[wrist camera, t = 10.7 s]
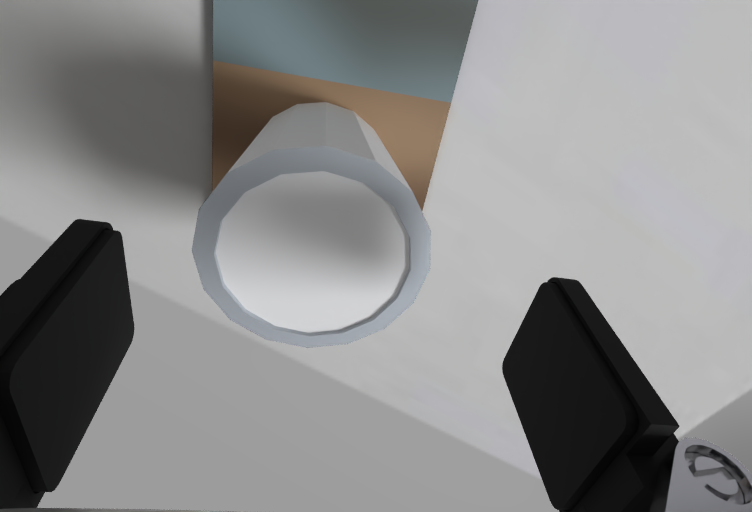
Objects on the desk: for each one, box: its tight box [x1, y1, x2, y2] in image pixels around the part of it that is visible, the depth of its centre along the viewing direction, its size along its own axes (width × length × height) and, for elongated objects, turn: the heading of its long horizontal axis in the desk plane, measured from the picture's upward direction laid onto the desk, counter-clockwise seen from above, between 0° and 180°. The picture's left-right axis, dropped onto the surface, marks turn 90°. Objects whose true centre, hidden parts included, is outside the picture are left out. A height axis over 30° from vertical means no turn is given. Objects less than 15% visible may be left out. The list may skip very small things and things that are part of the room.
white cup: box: [192, 102, 431, 348], centre depth 16 cm, size 7×7×7 cm
